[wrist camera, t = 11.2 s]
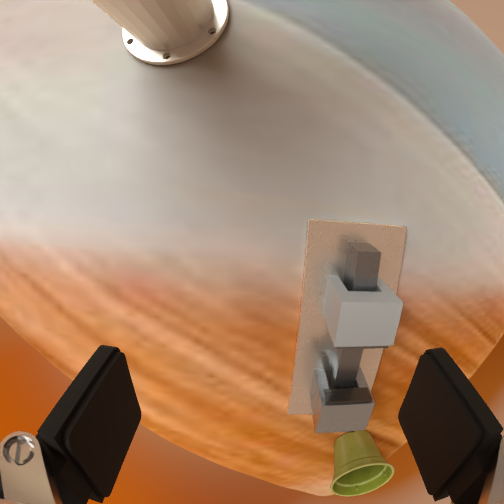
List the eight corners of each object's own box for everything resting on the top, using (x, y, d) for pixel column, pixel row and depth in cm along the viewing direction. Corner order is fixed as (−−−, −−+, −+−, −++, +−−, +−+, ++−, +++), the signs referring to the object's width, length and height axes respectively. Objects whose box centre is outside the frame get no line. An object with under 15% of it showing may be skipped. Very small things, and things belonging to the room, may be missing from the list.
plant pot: (391, 429, 39) (406, 467, 30) (354, 461, 41) (363, 499, 33) (350, 415, 38) (362, 459, 30) (312, 450, 40) (317, 492, 32)
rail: (308, 218, 31) (320, 233, 24) (403, 226, 31) (438, 241, 23) (287, 409, 38) (289, 452, 30) (362, 407, 37) (375, 446, 30)
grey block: (327, 275, 32) (341, 301, 25) (379, 277, 31) (403, 302, 25) (322, 316, 33) (333, 350, 26) (371, 317, 33) (392, 348, 26)
